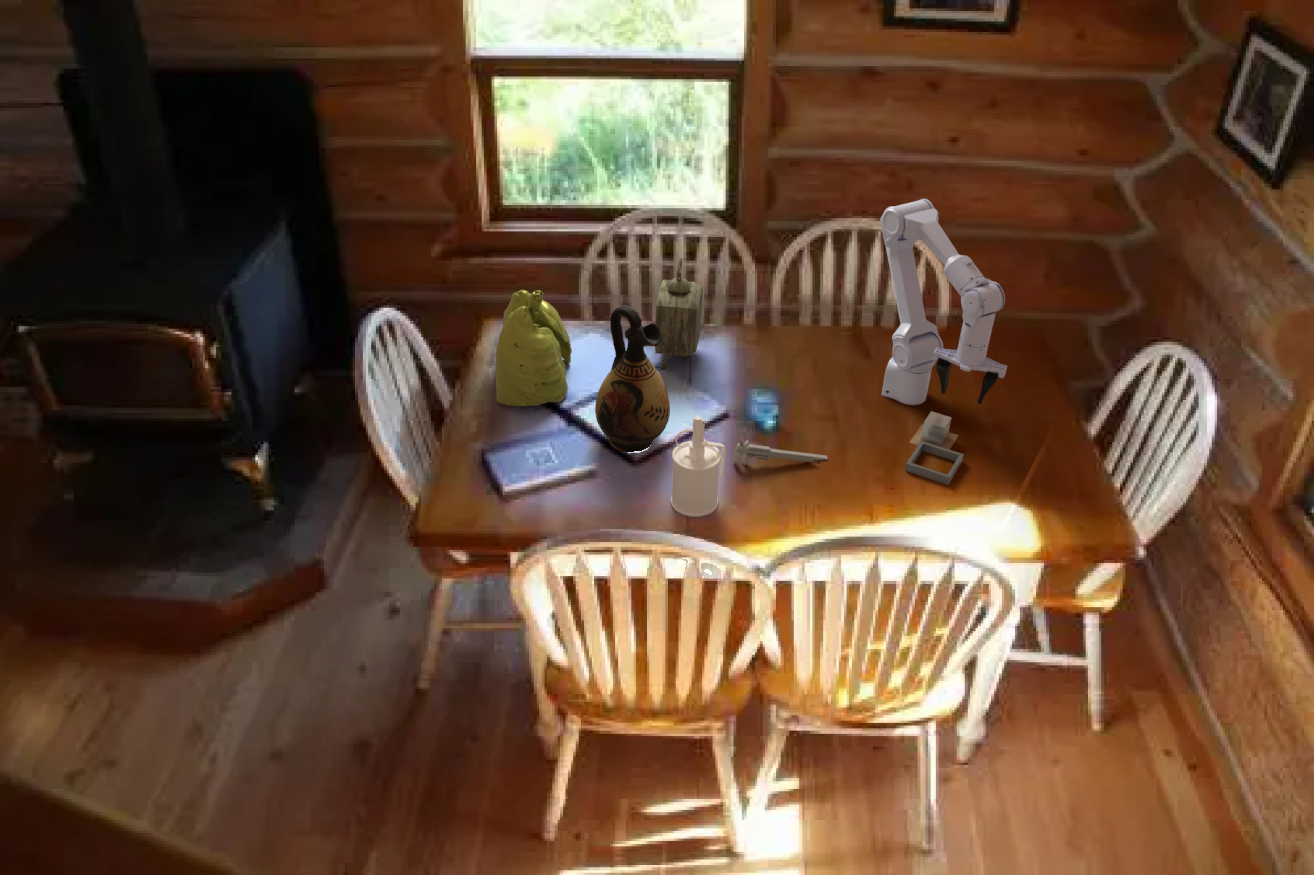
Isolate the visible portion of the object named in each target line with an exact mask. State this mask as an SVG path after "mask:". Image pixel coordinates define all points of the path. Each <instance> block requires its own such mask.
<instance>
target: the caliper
mask: <svg viewBox="0 0 1314 875" xmlns="http://www.w3.org/2000/svg"><path fill="white" fill-rule="evenodd" d="M742 454H743V456H742V461H741V464H742V466H746V465H747V463H748V462H749V461H750V460H751V458H753V457H755V458H757V459H758V460H764V461H765V460H766V461H767V460H768V459H769V458H775V459H783V460H784V459H785V460H791V461H797V462H798V461H799V462H805V463H806V462H808V463H815V464H820V462H819V461H827V460H828V455H823V454H815V453H809V452H807V453H806V452H802V451H801V452H799V451H794V450H793V451H792V450H784V449H777V448H771V446H766V445H765V446H764V445H760V444H759V445H758V444H750V443H749V439H746V440H745V441H744V440H743V438H741V440H740V442H738V443H736V445H735V448H734V450H733V458H732V461H733V465H734V466H737V464H738V462H739V459H740V456H741V455H742Z"/></svg>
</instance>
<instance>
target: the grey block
mask: <svg viewBox="0 0 1314 875" xmlns="http://www.w3.org/2000/svg"><path fill="white" fill-rule="evenodd" d="M951 421H952V417H951V416H948V415H945V414H941V413H938V412H936V411H935V412H934V411H933V410H932V411H930V412H929V414H928V415H927V417H926V419H925V420H924V421H923V424H924V425H923V430H922V436H921V441H924V442H927V443H930V444H933V445H936V446H939V447H942V445H943V443H944V442H945V440H946V439H947V437H948V432H949V433H950V426H951Z"/></svg>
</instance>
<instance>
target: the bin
mask: <svg viewBox="0 0 1314 875" xmlns="http://www.w3.org/2000/svg"><path fill="white" fill-rule="evenodd" d="M922 452H925V453H928V454H931V455H934V456H937V457H940V458H943V459H945V460H950V461H953V462H954V464H953V465H952V467H951V469H950V470H949V472H948V474H946V473H944V472H941V471H936V470H934V469H931V468H928V467H925V466H922V465H919V464H916V463H915V462H916V461H917V459H918V458H919V456H920V455H921V454H922ZM964 456H965V454H964V453H961V452H957V451H954V450H951V449H950V450H949V449H945V448H942V447H939V446H936V445H933V444H930V443H927V442H924V441H921V442H920V443H919V445H918V446H917V445H916V448H915V450H914V451H913V452H912V454H911V456H910V457H909V458H908V459H907V461H906V463H905V468H904V471H905V472H908V473H911V474H913V475H916V476H919V477H923V478H926V479H929V480H932V481H935V482H937V483H940V484H944V485H946V486H947V485H948V486H949V484H950V483H951V481H952V479H954V476H955V475H956V473H957V472H958V469H959V468H960V466H961V465H962V462H963V460H964Z"/></svg>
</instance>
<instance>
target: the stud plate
mask: <svg viewBox="0 0 1314 875" xmlns="http://www.w3.org/2000/svg"><path fill="white" fill-rule="evenodd" d="M923 425H924V423H921V425H920V426H919V427H918V429H917V431H915V433H914V435H913V437H912V438H911V439H910V441H909V444H911V445H915V446H916V447H917V446H918V445H919V443H920V442H921V436H922V430H923ZM958 437H959V434H956V433H952V432H950V431H949V432H948V437H947V439H946V440H945V442H944V443H943V445H942V448H945V449H949V450H951V448H952V447H953V445H954V443H955V442H956V440H957V438H958Z"/></svg>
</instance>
